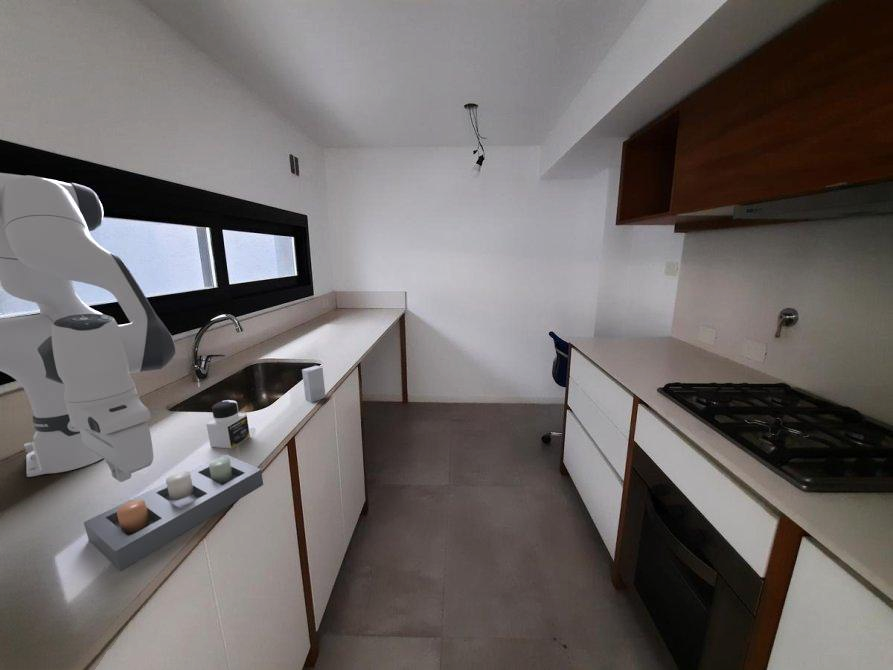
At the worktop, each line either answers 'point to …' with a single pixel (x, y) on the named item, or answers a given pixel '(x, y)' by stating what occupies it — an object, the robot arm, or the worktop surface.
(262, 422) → the worktop surface
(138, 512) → the button terracotta
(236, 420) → the medicine bottle
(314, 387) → the skincare box
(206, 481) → the tray
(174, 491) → the button cream
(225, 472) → the button sage
